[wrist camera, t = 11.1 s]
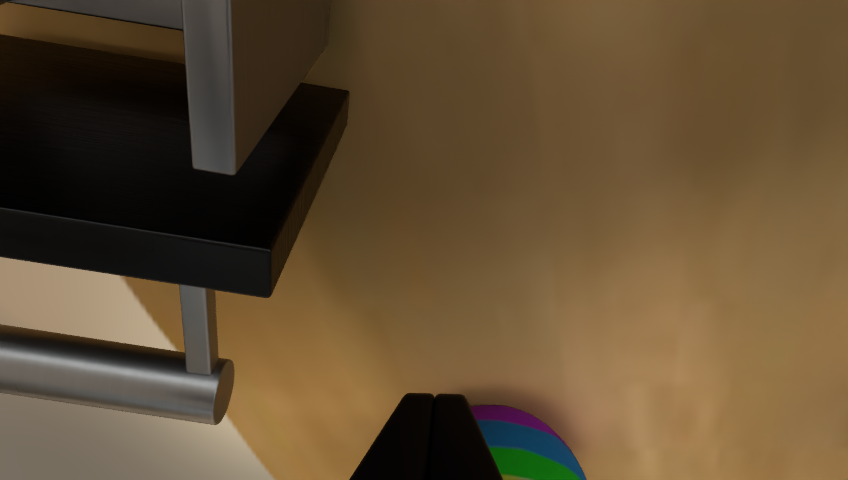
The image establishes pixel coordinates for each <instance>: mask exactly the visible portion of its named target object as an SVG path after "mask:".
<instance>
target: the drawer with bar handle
mask: <svg viewBox="0 0 848 480" xmlns="http://www.w3.org/2000/svg"><path fill="white" fill-rule="evenodd" d="M6 2H9V3H15V4H21V5H27V6H33V7H39V8H46V9H52V10H58V11H64V12H70V13H76V14H83V15H89V16H95V17H101V18H107V19H113V20H119V21H126V22H132V23H138V24H144V25H150V26H156V27H163V28H169V29H175V30H181V31H183V39H184V54H185V64H181V63H175V62H169V61H162V60H156V59H150V58H144V57H138V56H131V55H125V54H119V53H113V52H107V51H100V50H94V49H88V48H82V47H76V46H69V45H63V44H57V43H51V42H45V41H38V40H32V39H26V38H20V37H14V36H7V35H1V34H0V257H5V258H11V259H17V260H24V261H30V262H37V263H43V264H49V265H56V266H63V267H69V268H76V269H82V270H89V271H95V272H101V273H109V274H114V275H121V276H127V277H133V278H140V279H146V280H153V281H159V282H166V283H172V284H179V289H180V300H181V311H182V322H183V333H184V344H185V352H178V351H171V350H165V349H158V348H152V347H145V346H138V345H132V344H126V343H119V342H112V341H105V340H99V339H93V338H86V337H80V336H72V335H66V334H60V333H53V332H47V331H40V330H33V329H27V328H21V327H14V326H7V325H1V324H0V393H5V394H12V395H19V396H25V397H32V398H39V399H45V400H52V401H59V402H65V403H72V404H79V405H85V406H92V407H99V408H106V409H112V410H118V411H126V412H132V413H138V414H145V415H152V416H159V417H165V418H172V419H179V420H185V421H192V422H198V423H205V424H211V425H217V424H219V423H220V422H221V420H222V419H223V417H224V415H225V413H226V411H227V408H228V405H229V402H230V398H231V394H232V390H233V384H234V363H233V361H232V360H230V359H224V358H219V356H218V336H217V317H216V298H215V290H218V291H224V292H230V293H237V294H243V295H250V296H256V297H263V298H269V297H271V295H272V293H273V290H274V288H275V286H276V284H277V281H278V279H279V277H280V275H281V272H282V270H283V268H284V266H285V263H286V261H287V259H288V257H289V254H290V252H291V250H292V248H293V245H294V243H295V241H296V239H297V236H298V234H299V232H300V230H301V227H302V225H303V223H304V221H305V218H306V216H307V214H308V212H309V209H310V207H311V205H312V203H313V200H314V198H315V196H316V194H317V191H318V189H319V187H320V185H321V182H322V180H323V178H324V176H325V173H326V171H327V169H328V167H329V164H330V162H331V160H332V158H333V155H334V153H335V151H336V149H337V146H338V144H339V142H340V140H341V137H342V135H343V133H344V131H345V128H346V126H347V119H348V107H349V94H350V93H349V91H347V90H342V89H336V88H330V87H323V86H317V85H311V84H305V83H301V81H302V80H303V78H304V77H305V76H306V74H307V73H308V71H309V70H310V68H311V67H312V66H313V64H314V63H315V61H316V60H317V59H318V57H319V56H320V54H321V53H322V52H323V51H324V49H325V48H326V46H327V44H328V28H329V10H330V0H0V5H1V4H4V3H6Z"/></svg>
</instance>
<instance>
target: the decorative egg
mask: <svg viewBox="0 0 848 480" xmlns="http://www.w3.org/2000/svg"><path fill="white" fill-rule="evenodd" d="M470 408H471V410H472V412H473V414H474V416H475V419H476V421H477V423H478V425H479V427H480V430H481V432H482V434H483V436H484V438H485V441H486V443H487V445H488V447H489V449H490V452H491V454H492V456H493V458H494V460H495V463H496V465H497V467H498V469H499V471H500V474H501V476H502V478H503V480H586V477H585V475H584V473H583V470H582V468H581V467H580V465H579V463H578V461H577V459H576V458H575V456H574V455H573V453H572V452H571V450H570V449H569V447H568V446H567V445H566V444H565V442H564V441H563V440H562V439H561V438H560V437H559V436H558V435H557V434H556V433H555V432H554V431H553V430H552V429H551V428H550V427H549V426H547V425H546V424H545V423H543V422H542V421H541V420H539V419H538V418H536V417H534V416H533V415H531V414H529V413H526V412H524V411H522V410H519V409H515V408H512V407H508V406H501V405H480V406H473V407H470Z"/></svg>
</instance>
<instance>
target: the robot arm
mask: <svg viewBox="0 0 848 480" xmlns="http://www.w3.org/2000/svg"><path fill="white" fill-rule="evenodd" d="M349 480H503V478H502V476H501V474H500V471H499V469H498V467H497V465H496V463H495V460H494V458H493V456H492V454H491V452H490V449H489V447H488V445H487V443H486V441H485V438H484V436H483V434H482V432H481V430H480V427H479V425H478V423H477V421H476V419H475V416H474V414H473V412H472V410H471V408H470V406H469V403H468V401H467V399H466V398H465V396H464V395H461V394H438V395H437V396H436V397H434V396H433V395H432V394H430V393H408V394H406V395H405V396H404V397H403V398H402V399H401V401H400V403H399V404H398V406H397V407H396V409H395V410H394V412H393V413H392V415H391V416H390V418H389V419H388V421H387V422H386V424H385V426H384V427H383V429H382V430H381V432H380V433H379V435H378V436H377V438H376V439H375V441H374V442H373V444H372V445H371V447H370V449H369V450H368V452H367V453H366V455H365V456H364V458H363V459H362V461H361V462H360V464H359V465H358V467H357V468H356V470H355V472H354V473H353V475H352V476H351V478H350V479H349Z"/></svg>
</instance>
